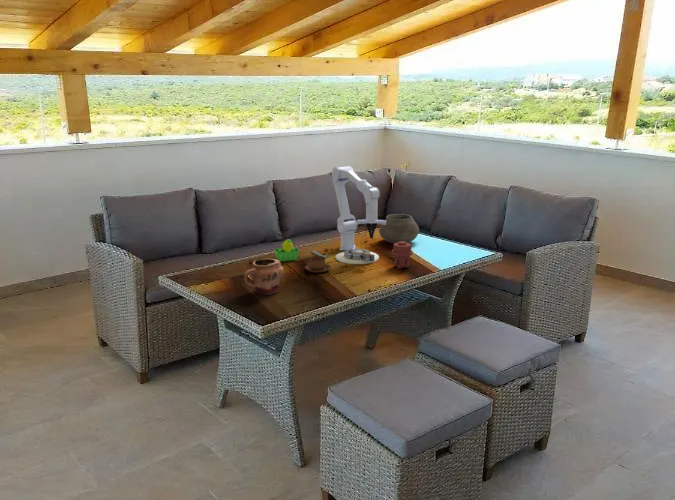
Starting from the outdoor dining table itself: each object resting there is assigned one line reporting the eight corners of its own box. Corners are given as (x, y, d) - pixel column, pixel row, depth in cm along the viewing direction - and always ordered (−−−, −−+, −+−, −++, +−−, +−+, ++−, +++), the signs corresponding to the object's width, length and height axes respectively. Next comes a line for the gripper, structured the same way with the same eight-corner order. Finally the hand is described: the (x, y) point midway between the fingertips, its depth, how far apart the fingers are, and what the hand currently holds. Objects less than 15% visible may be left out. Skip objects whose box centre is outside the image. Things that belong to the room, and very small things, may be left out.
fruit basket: (295, 256, 313) (295, 235, 310) (300, 261, 305) (299, 239, 302) (274, 258, 309) (273, 237, 306) (277, 263, 301) (277, 241, 298)
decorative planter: (256, 302, 248) (254, 269, 244) (237, 295, 256) (235, 264, 252) (291, 289, 262) (290, 258, 259) (271, 284, 270) (270, 253, 266)
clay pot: (407, 249, 324) (407, 222, 320) (372, 244, 335) (372, 217, 331) (424, 240, 341) (425, 214, 337) (391, 236, 352) (391, 210, 348)
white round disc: (338, 251, 321) (338, 244, 320) (380, 252, 318) (380, 245, 317) (332, 263, 300) (332, 256, 299) (377, 264, 297) (377, 257, 296)
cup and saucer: (300, 270, 289) (299, 258, 288) (318, 265, 298) (318, 253, 296) (317, 276, 281) (317, 263, 280) (335, 270, 289) (335, 258, 288)
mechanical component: (391, 263, 299) (411, 264, 298) (391, 269, 289) (412, 270, 288) (392, 239, 296) (412, 239, 295) (391, 244, 286) (413, 245, 285)
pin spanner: (311, 252, 320) (311, 248, 319) (317, 251, 321) (316, 247, 321) (322, 258, 309) (322, 254, 308) (328, 258, 310) (328, 253, 309)
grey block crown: (343, 261, 299) (343, 253, 298) (345, 252, 316) (345, 244, 314) (369, 261, 298) (369, 254, 297) (370, 252, 315) (370, 245, 313)
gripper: (356, 213, 302) (356, 239, 306) (385, 213, 300) (385, 240, 304) (358, 210, 309) (357, 236, 312) (386, 210, 307) (386, 236, 310)
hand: (371, 238), depth 308 cm, fingers closed
